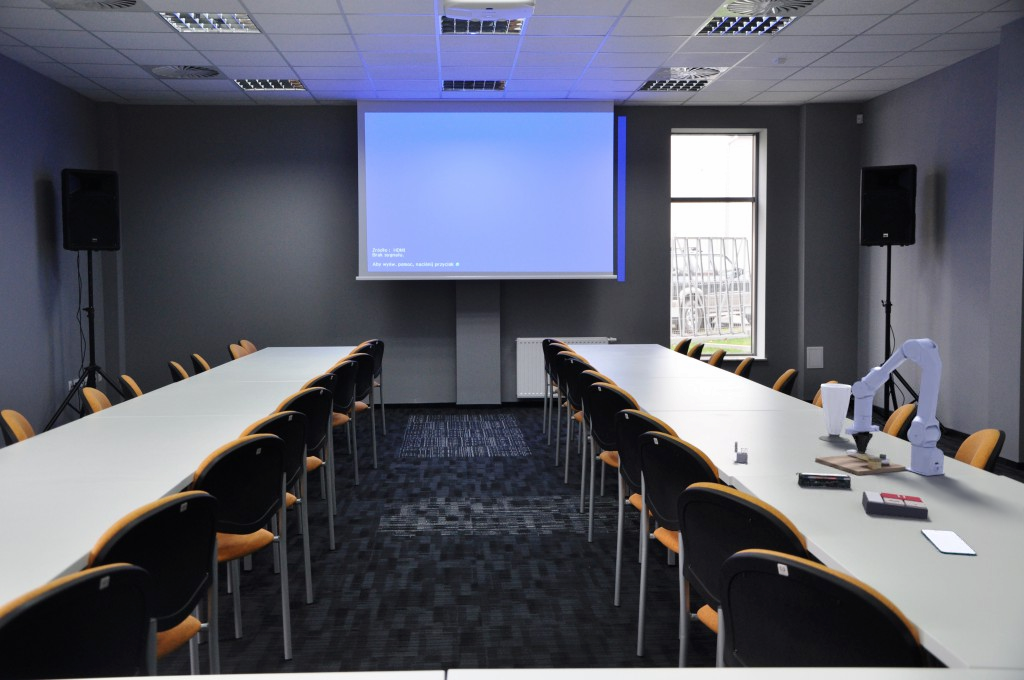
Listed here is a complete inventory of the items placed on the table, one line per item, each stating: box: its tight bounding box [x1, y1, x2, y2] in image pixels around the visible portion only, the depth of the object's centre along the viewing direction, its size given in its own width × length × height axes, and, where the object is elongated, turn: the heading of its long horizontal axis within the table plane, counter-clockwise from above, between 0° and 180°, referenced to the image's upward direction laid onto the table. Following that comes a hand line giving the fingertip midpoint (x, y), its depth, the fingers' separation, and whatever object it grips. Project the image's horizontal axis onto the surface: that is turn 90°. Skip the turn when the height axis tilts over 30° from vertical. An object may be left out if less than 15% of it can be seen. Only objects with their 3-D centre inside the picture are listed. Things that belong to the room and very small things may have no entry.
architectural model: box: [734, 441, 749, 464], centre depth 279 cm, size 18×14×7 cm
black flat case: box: [795, 472, 852, 489], centre depth 241 cm, size 14×25×4 cm, turn 80°
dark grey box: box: [861, 490, 929, 520], centre depth 216 cm, size 11×4×15 cm
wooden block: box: [857, 453, 881, 469], centre depth 261 cm, size 7×4×3 cm, turn 19°
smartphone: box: [920, 528, 977, 557], centre depth 190 cm, size 8×1×16 cm
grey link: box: [845, 449, 891, 465], centre depth 271 cm, size 17×4×2 cm, turn 19°
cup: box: [818, 383, 852, 443], centre depth 310 cm, size 12×12×22 cm
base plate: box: [814, 453, 907, 476], centre depth 268 cm, size 20×20×4 cm
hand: (861, 452), depth 279 cm, fingers closed
